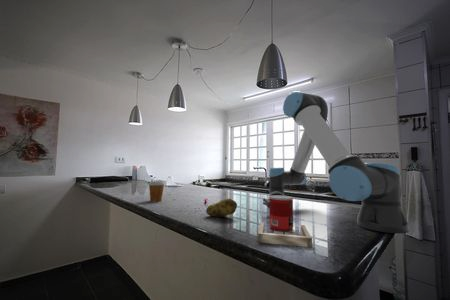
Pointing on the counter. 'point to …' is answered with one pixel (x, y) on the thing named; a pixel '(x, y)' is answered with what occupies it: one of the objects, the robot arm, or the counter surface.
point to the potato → (222, 208)
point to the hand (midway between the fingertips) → (278, 209)
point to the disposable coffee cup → (156, 190)
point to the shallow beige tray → (285, 237)
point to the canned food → (281, 213)
